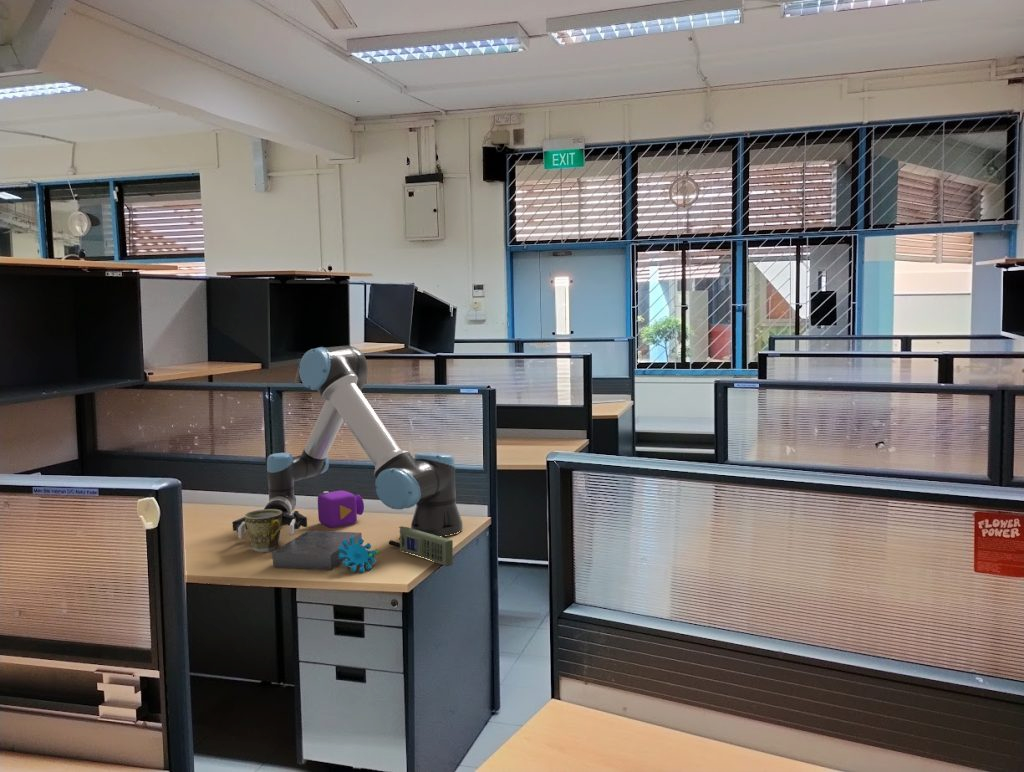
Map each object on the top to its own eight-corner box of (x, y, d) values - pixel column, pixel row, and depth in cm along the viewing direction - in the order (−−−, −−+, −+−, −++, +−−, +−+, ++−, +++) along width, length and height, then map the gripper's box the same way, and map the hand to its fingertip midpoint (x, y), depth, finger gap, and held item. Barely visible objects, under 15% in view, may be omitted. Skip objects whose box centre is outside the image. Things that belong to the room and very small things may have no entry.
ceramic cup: (239, 550, 221) (237, 514, 220) (270, 541, 229) (268, 507, 228) (266, 558, 213) (264, 521, 212) (297, 549, 220) (296, 513, 219)
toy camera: (371, 520, 249) (369, 489, 248) (334, 530, 238) (333, 497, 237) (349, 515, 256) (348, 484, 255) (313, 524, 246) (311, 492, 245)
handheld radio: (445, 567, 203) (385, 548, 220) (454, 564, 205) (394, 546, 222) (445, 541, 202) (385, 524, 219) (454, 539, 204) (394, 522, 222)
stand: (362, 546, 221) (361, 532, 221) (331, 570, 202) (330, 554, 202) (308, 544, 225) (307, 530, 224) (273, 567, 205) (272, 552, 205)
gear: (345, 571, 196) (335, 536, 201) (336, 584, 199) (327, 549, 205) (385, 567, 203) (374, 534, 208) (376, 580, 206) (366, 546, 211)
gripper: (320, 521, 240) (313, 542, 219) (234, 526, 237) (218, 548, 216) (319, 497, 239) (311, 515, 218) (233, 502, 236) (216, 520, 215)
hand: (265, 531), depth 217 cm, fingers open, 13 cm apart
